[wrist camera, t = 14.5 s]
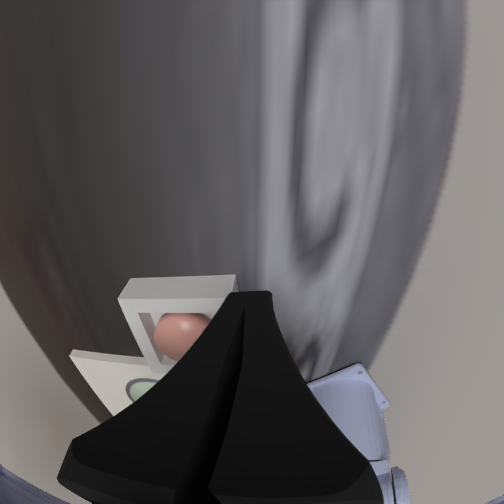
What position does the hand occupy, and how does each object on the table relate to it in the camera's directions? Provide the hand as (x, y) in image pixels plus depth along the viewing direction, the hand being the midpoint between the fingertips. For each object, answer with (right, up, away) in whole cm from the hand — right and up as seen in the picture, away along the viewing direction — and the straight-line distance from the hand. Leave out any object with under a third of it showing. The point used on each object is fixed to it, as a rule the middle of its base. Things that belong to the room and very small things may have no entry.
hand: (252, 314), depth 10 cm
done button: (-5, -4, +12) cm, 13 cm away
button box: (-5, -3, +13) cm, 14 cm away
